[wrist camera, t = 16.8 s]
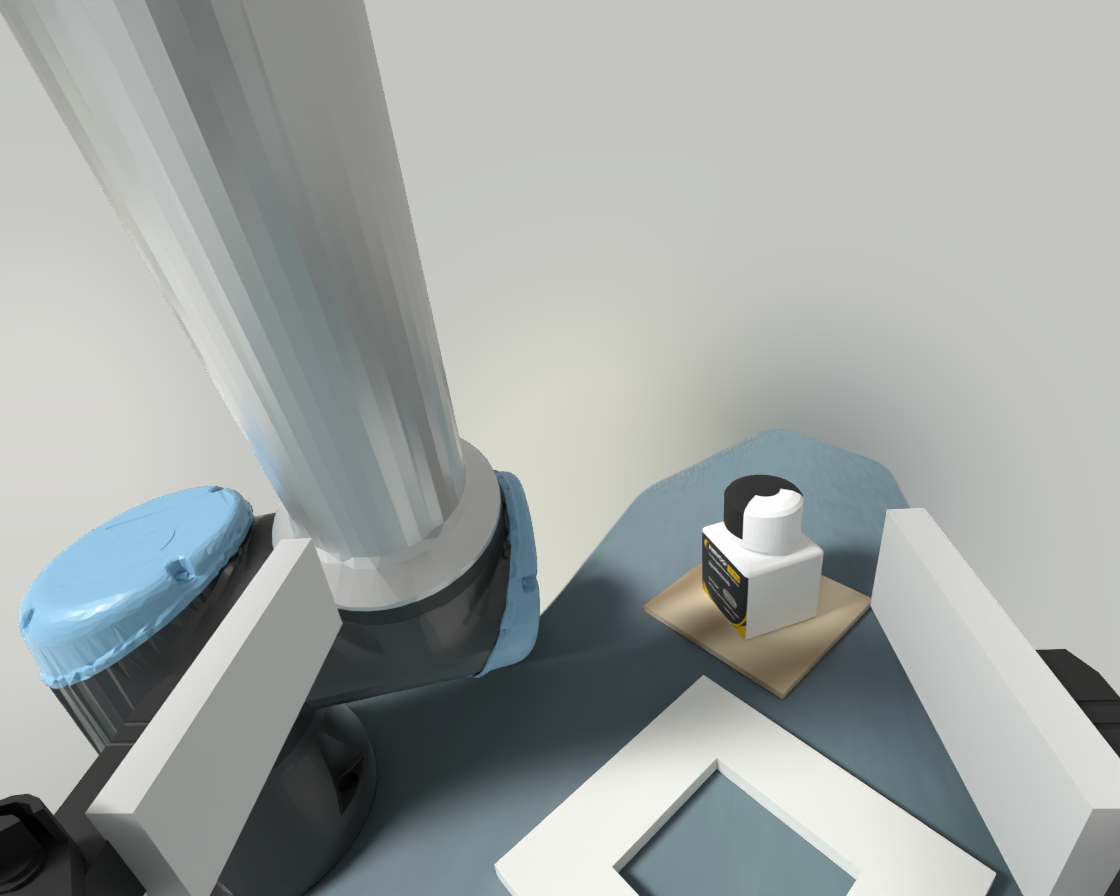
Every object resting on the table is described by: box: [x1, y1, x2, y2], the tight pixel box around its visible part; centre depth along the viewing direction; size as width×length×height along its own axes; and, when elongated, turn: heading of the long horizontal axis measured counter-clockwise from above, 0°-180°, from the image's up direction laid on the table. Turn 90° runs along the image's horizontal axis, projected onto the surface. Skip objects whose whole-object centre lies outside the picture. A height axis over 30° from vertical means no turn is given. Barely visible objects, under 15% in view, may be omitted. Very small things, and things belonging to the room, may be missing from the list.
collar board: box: [494, 675, 996, 896], centre depth 37 cm, size 20×20×1 cm
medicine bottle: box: [702, 475, 824, 640], centre depth 53 cm, size 7×7×12 cm
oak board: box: [644, 562, 871, 700], centre depth 56 cm, size 14×14×1 cm
